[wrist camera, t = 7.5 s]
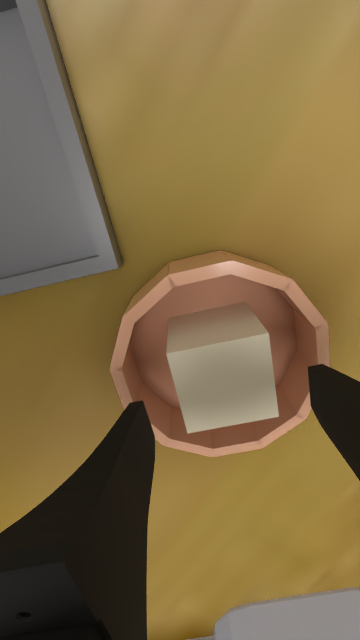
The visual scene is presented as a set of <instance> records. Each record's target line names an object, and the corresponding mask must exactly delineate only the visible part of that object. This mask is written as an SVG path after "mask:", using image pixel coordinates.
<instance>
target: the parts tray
mask: <svg viewBox="0 0 360 640" xmlns="http://www.w3.org/2000/svg"><path fill="white" fill-rule="evenodd" d="M122 264H123V260H122V256H121V253H120V250H119V246H118V243H117V240H116V236H115V233H114V229H113V226H112V223H111V219H110V216H109V213H108V209H107V206H106V203H105V199H104V196H103V192H102V189H101V186H100V182H99V179H98V176H97V172H96V169H95V166H94V162H93V159H92V155H91V152H90V149H89V145H88V142H87V139H86V135H85V132H84V129H83V125H82V122H81V118H80V115H79V112H78V108H77V105H76V102H75V98H74V95H73V91H72V88H71V85H70V81H69V78H68V75H67V71H66V68H65V65H64V61H63V58H62V54H61V51H60V48H59V44H58V41H57V38H56V34H55V31H54V28H53V24H52V21H51V17H50V14H49V11H48V7H47V4H46V1H45V0H0V296H2V295H7V294H11V293H15V292H19V291H24V290H28V289H32V288H37V287H41V286H45V285H49V284H54V283H58V282H62V281H67V280H71V279H75V278H79V277H84V276H88V275H92V274H97V273H101V272H105V271H109V270H114V269H118V268H119V267H120V266H121V265H122Z"/></svg>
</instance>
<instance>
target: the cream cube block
mask: <svg viewBox="0 0 360 640" xmlns="http://www.w3.org/2000/svg"><path fill="white" fill-rule="evenodd" d="M166 355H167V359H168V363H169V366H170V370H171V374H172V377H173V381H174V385H175V389H176V392H177V396H178V400H179V404H180V407H181V411H182V415H183V418H184V422H185V426H186V430H187V433H193V432H199V431H204V430H210V429H215V428H220V427H226V426H231V425H237V424H242V423H248V422H253V421H258V420H264V419H269V418H275V417H279V412H278V404H277V396H276V388H275V380H274V372H273V364H272V355H271V347H270V339H269V333H268V331H267V330H266V329H265V327H264V326H263V325H262V323H261V322H260V321H259V319H258V318H257V316H256V315H255V314H254V312H253V311H252V310H251V308H250V307H249V306H248V304H247V303H246V302H241V303H237V304H232V305H227V306H222V307H218V308H213V309H208V310H204V311H199V312H194V313H190V314H185V315H180V316H175V317H171V318H169V322H168V336H167V349H166Z"/></svg>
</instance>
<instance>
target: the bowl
mask: <svg viewBox="0 0 360 640" xmlns="http://www.w3.org/2000/svg"><path fill="white" fill-rule="evenodd" d="M241 302H246V303H247V304H248V306H249V307H250V308H251V310H252V311H253V312H254V314H255V315H256V316H257V318H258V319H259V321H260V322H261V323H262V325H263V326H264V327H265V329H266V330H267V331H268V333H269V339H270V347H271V355H272V364H273V372H274V380H275V388H276V396H277V404H278V412H279V417H275V418H269V419H264V420H258V421H253V422H248V423H242V424H237V425H231V426H226V427H220V428H215V429H210V430H204V431H199V432H193V433H187V430H186V426H185V422H184V418H183V415H182V411H181V407H180V404H179V400H178V396H177V392H176V389H175V385H174V381H173V377H172V374H171V370H170V366H169V363H168V359H167V355H166V349H167V336H168V322H169V318H171V317H175V316H180V315H185V314H190V313H194V312H199V311H204V310H208V309H213V308H218V307H222V306H227V305H232V304H237V303H241ZM319 364H324V365H326V366H328V367H330V353H329V332H328V323H327V321H326V320H325V319H324V318H323V316H322V315H321V314H320V313H319V311H318V310H317V309H316V308H315V307H314V305H313V304H312V303H311V302H310V300H309V299H308V298H307V297H306V295H305V294H304V293H303V292H302V290H301V289H300V288H299V287H298V285H297V284H296V283H295V282H294V280H293V279H291V278H289V277H288V276H286V275H285V274H283V273H281V272H280V271H278V270H276V269H275V268H273V267H271V266H270V265H267V264H264V263H261V262H257V261H254V260H251V259H248V258H245V257H242V256H239V255H235V254H232V253H229V252H226V251H223V250H218V251H214V252H210V253H205V254H201V255H197V256H192V257H188V258H184V259H179V260H175V261H171V262H170V263H168V264H167V265H165V266H164V267H163V268H162V269H161V270H160V271H159V272H158V273H157V274H156V275H155V276H154V277H153V278H152V279H151V280H150V281H149V282H147V283H146V284H145V285H144V286H143V287H142V288H141V289H140V290H139V291H138V292H137V293H136V294H135V295H134V296H133V297H132V299H131V301H130V303H129V305H128V307H127V309H126V311H125V313H124V315H123V317H122V321H121V325H120V329H119V333H118V337H117V341H116V345H115V349H114V352H113V356H112V360H111V364H110V368H109V370H110V372H111V375H112V378H113V381H114V384H115V386H116V389H117V392H118V395H119V397H120V400H121V403H122V406H123V408H124V410H125V409H126V407H127V406H128V404H129V403H131V402H136V401H141V400H143V402H144V405H145V408H146V411H147V414H148V417H149V420H150V423H151V426H152V429H153V432H154V435H155V439H156V440H157V441H158V442H159V443H161V444H162V445H163V446H166V447H170V448H175V449H179V450H183V451H188V452H192V453H196V454H201V455H205V456H209V457H212V456H213V457H216V456H222V455H227V454H233V453H238V452H244V451H249V450H255V449H260V448H262V447H263V448H264V447H265V446H267V445H268V444H270V443H271V442H273V441H274V440H276V439H277V438H279V437H280V436H282V435H283V434H285V433H286V432H288V431H289V430H291V429H292V428H293V427H295V426H296V425H298V424H299V423H301V422H302V421H304V420H305V419H306V418H307V416H308V414H309V412H310V411H311V409H312V407H311V403H310V391H309V379H308V367H309V366H314V365H319Z"/></svg>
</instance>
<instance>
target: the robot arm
mask: <svg viewBox="0 0 360 640" xmlns="http://www.w3.org/2000/svg"><path fill="white" fill-rule="evenodd" d="M308 379H309V391H310V403H311V407H312V409H313V411H314V413H315V415H316V417H317V419H318V421H319V423H320V424H321V426H322V428H323V429H324V431H325V432H326V434H327V435H328V436H329V438H330V439H331V441H332V442H333V444H334V445H335V446H336V448H337V449H338V451H339V452H340V453H341V455H342V456H343V458H344V459H345V460H346V462H347V463H348V465H349V466H350V467H351V469H352V470H353V472H354V473H355V474H356V476H357V477H358V479H359V480H360V382H359V381H357V380H355V379H353V378H351V377H349V376H347V375H345V374H343V373H340V372H338V371H336V370H334V369H332V368H330V367H328V366H326V365H324V364H319V365H314V366H309V367H308ZM154 462H155V435H154V432H153V429H152V426H151V423H150V420H149V417H148V414H147V411H146V408H145V405H144V402H143V400H141V401H136V402H131V403H129V404H128V406H127V407H126V409H125V410H124V411H123V413H122V414H121V416H120V417H119V419H118V420H117V421H116V423H115V424H114V426H113V427H112V428H111V430H110V431H109V433H108V434H107V435H106V437H105V438H104V439H103V440H102V442H101V443H100V444H99V445H98V447H97V448H96V449H95V450H94V452H93V453H92V454H91V455H90V456H89V457H88V459H87V460H86V461H85V462H84V463H83V464H82V465H81V466H80V467H79V468H78V469H77V470H76V471H75V472H74V473H73V474H72V475H71V476H70V477H69V478H68V479H67V480H66V481H65V482H64V483H63V484H62V485H61V486H60V487H59V488H57V489H56V490H55V491H54V492H53V493H52V494H51V495H50V496H49V497H47V498H46V499H45V500H44V501H43V502H41V503H40V504H39V505H38V506H36V507H35V508H34V509H33V510H31V511H30V512H29V513H28V514H26V515H25V516H24V517H22V518H21V519H20V520H18V521H17V522H15V523H14V524H12V525H11V526H10V527H8V528H7V529H5V530H4V531H2V532H1V533H0V640H147V613H146V572H147V525H148V512H149V503H150V495H151V487H152V479H153V471H154ZM188 640H360V588H344V589H337V590H331V591H324V592H318V593H311V594H304V595H298V596H291V597H285V598H278V599H271V600H265V601H258V602H252V603H248V604H244V605H241V606H238V607H235V608H232V609H230V610H229V611H228V612H226V613H225V614H224V615H223V616H222V617H221V618H219V619H218V621H217V622H216V624H215V629H214V636H209V637H202V638H195V639H188Z"/></svg>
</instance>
